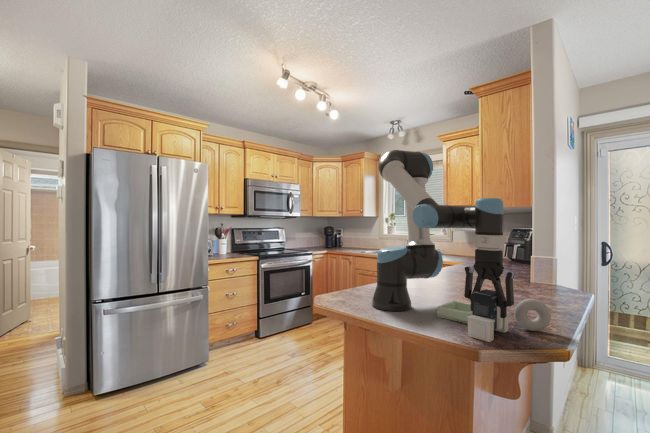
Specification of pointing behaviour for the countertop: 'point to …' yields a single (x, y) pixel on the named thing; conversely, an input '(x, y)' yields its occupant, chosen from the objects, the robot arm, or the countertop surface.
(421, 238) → the robot arm
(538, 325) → the donut
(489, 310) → the box
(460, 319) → the tray
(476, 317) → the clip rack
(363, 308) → the countertop surface
